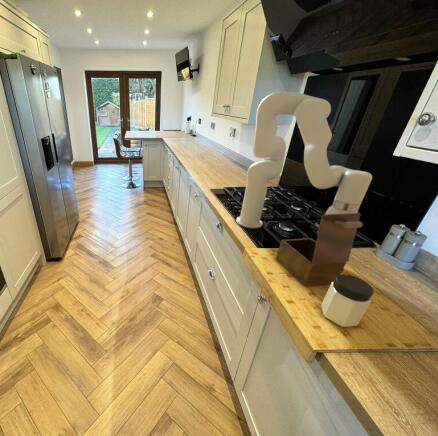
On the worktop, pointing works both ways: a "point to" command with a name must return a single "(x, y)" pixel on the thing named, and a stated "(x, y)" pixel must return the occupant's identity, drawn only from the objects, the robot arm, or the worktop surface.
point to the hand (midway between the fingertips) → (327, 247)
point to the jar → (347, 300)
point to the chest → (306, 262)
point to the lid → (336, 237)
